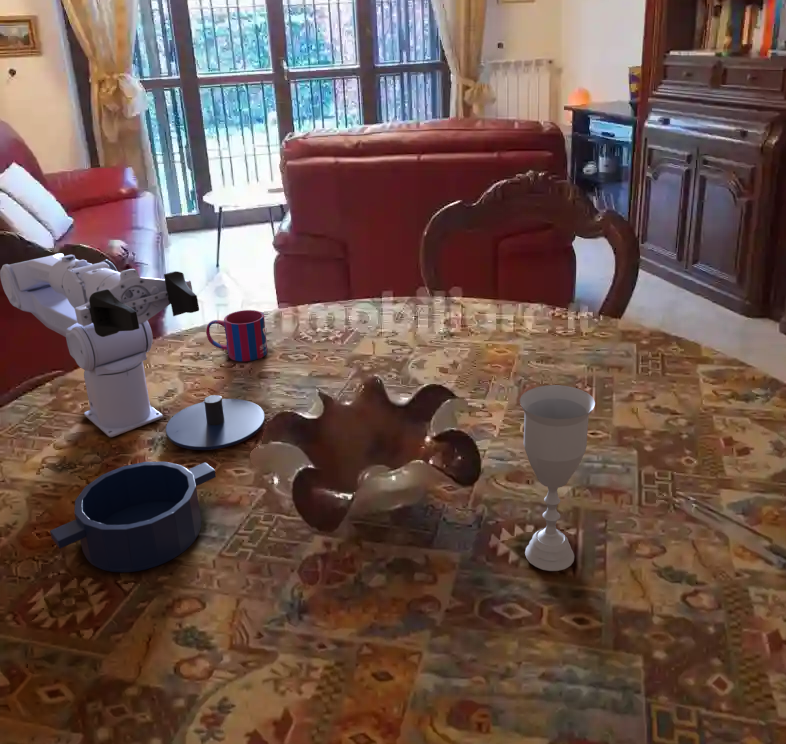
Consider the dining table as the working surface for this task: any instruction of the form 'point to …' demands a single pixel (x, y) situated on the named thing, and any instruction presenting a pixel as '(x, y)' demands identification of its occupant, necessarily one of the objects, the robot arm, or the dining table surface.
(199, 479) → the pot
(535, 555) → the chalice
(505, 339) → the dining table surface
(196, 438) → the lid
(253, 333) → the mug
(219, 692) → the dining table surface
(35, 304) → the robot arm
